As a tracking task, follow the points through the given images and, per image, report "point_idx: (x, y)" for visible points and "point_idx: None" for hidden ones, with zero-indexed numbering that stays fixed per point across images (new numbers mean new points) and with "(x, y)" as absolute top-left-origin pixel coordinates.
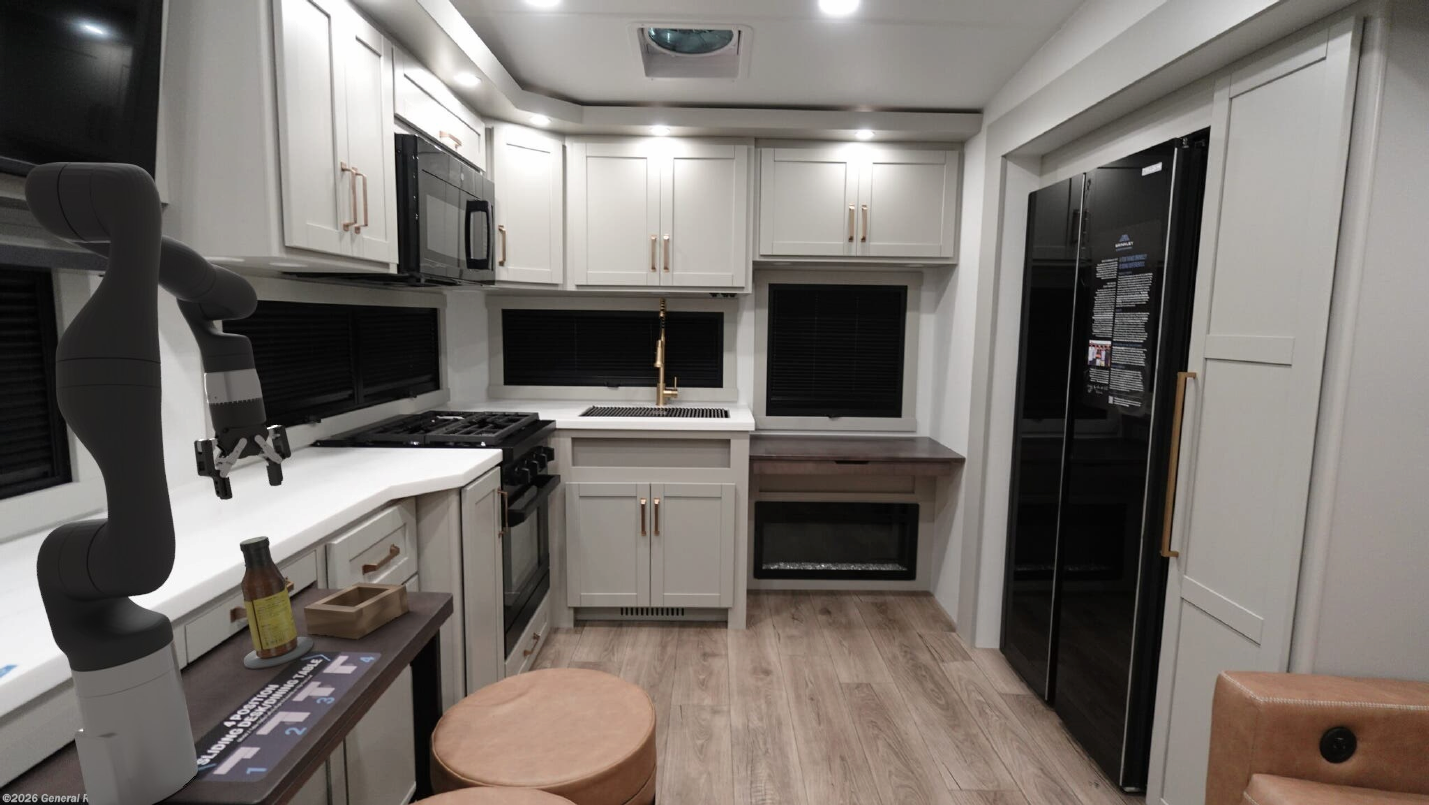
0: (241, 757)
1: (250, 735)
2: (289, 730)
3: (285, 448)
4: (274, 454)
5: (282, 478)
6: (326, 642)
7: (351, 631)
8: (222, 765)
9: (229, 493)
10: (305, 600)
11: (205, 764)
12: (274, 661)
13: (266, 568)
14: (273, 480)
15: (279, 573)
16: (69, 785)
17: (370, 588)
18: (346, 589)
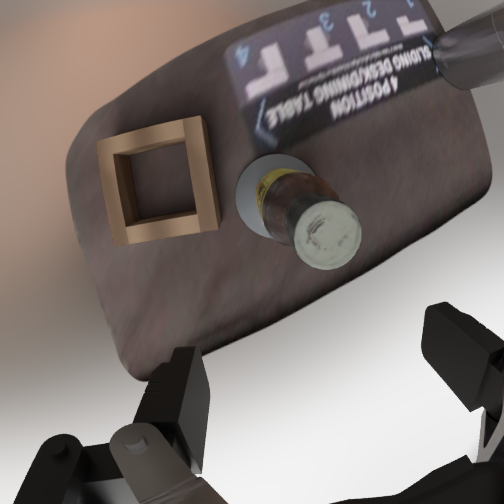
0: (409, 23)
1: (393, 42)
2: (372, 13)
3: (49, 490)
4: (151, 486)
5: (157, 370)
6: (229, 161)
7: (206, 130)
8: (421, 29)
9: (449, 309)
10: (156, 349)
11: (427, 45)
12: (302, 165)
13: (310, 191)
14: (200, 383)
15: (276, 197)
16: (479, 136)
17: (120, 198)
18: (140, 235)
